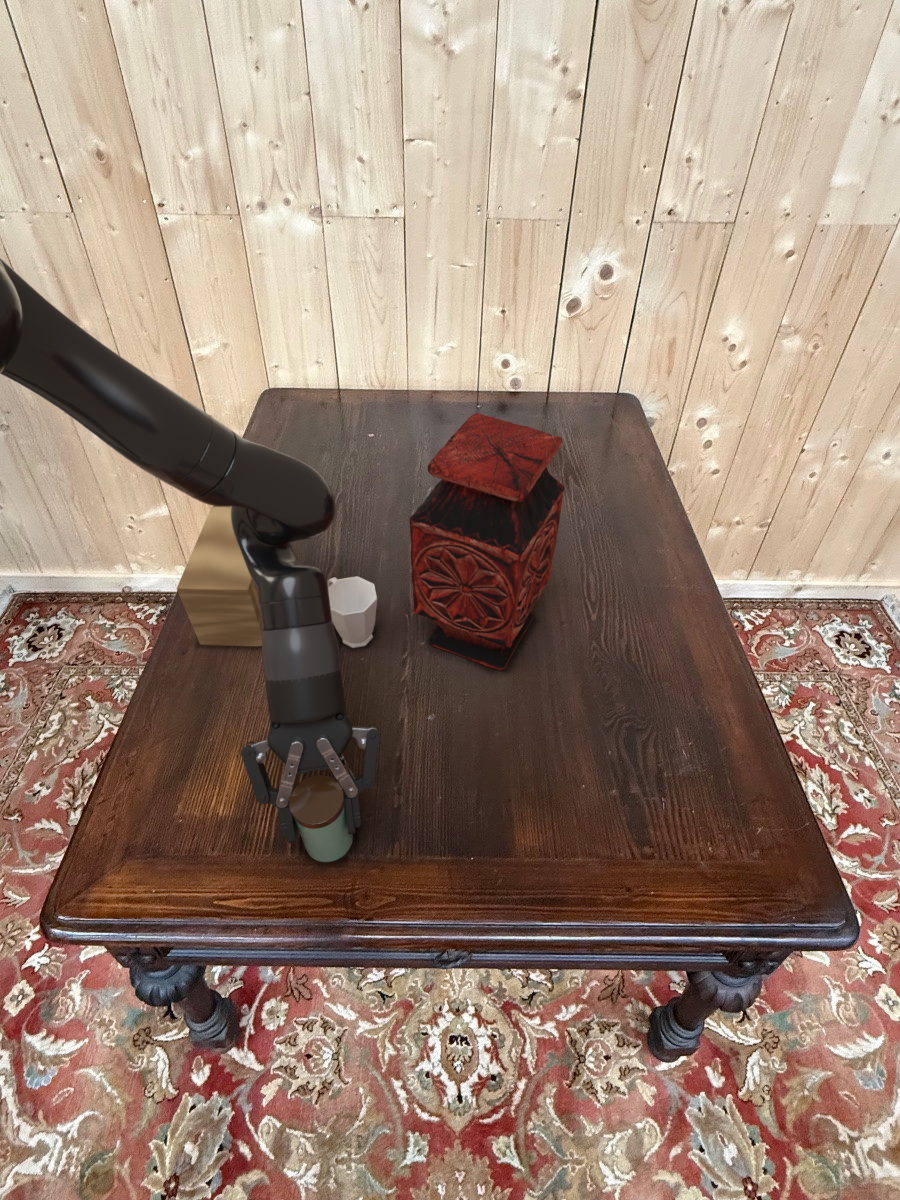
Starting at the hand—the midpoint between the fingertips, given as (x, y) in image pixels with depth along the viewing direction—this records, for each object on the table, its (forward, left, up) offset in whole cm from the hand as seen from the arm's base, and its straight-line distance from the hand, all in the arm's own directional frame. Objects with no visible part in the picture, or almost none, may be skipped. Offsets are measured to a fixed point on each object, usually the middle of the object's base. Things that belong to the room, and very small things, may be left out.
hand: (323, 835), depth 70 cm
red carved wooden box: (+35, +4, -5) cm, 36 cm away
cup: (+25, +19, -5) cm, 32 cm away
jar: (+1, +1, -5) cm, 5 cm away
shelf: (+20, +35, -5) cm, 41 cm away
